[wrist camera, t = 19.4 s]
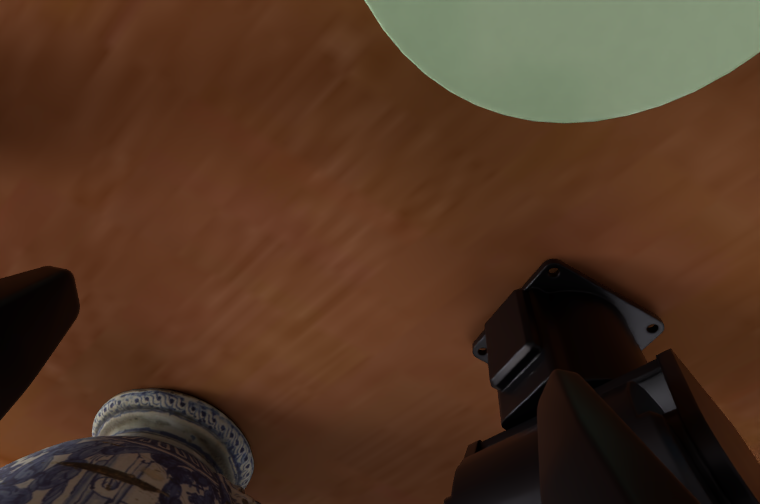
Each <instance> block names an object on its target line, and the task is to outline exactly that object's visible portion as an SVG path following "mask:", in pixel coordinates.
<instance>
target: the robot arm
mask: <svg viewBox="0 0 760 504" xmlns="http://www.w3.org/2000/svg"><path fill="white" fill-rule="evenodd" d="M551 268H558V270H557V271H556V272H555V273H550V272H548V271H549V270H550V269H551ZM79 310H80V304H79V299H78V294H77V289H76V284H75V279H74V276H73V274H72V273H71V271H69V270H67V269H62V268H57V267H52V266H45V267H41V268H37V269H34V270H30V271H26V272H23V273H19V274H16V275H12V276H9V277H5V278H1V279H0V420H1V419H2V418H3V417H4V415H5V414H6V413H7V412H8V411H9V410H10V408H11V407H12V406H13V405H14V404H15V402H16V401H17V400H18V399H19V398H20V397H21V395H22V394H23V393H24V392H25V390H26V389H27V388H28V387H29V385H30V384H31V383H32V381H33V380H34V379H35V377H36V376H37V375H38V373H39V372H40V370H41V369H42V367H43V366H44V365H45V363H46V362H47V360H48V359H49V357H50V356H51V354H52V353H53V352H54V350H55V349H56V347H57V346H58V344H59V343H60V341H61V340H62V339H63V337H64V336H65V334H66V333H67V331H68V330H69V329H70V327H71V326H72V324H73V323H74V321H75V320H76V318H77V316H78V314H79ZM651 324H655V325H654V326H653V327H650V328H647V327H648V326H649V325H651ZM663 331H664V324H663V322H662V321H661V319H660V318H659V317H658V316H656V315H655V314H653V313H651V312H649V311H648V310H646V309H644V308H642V307H641V306H639V305H637V304H635V303H634V302H632V301H630V300H628V299H627V298H625V297H623V296H621V295H620V294H618V293H616V292H614V291H613V290H611V289H609V288H607V287H606V286H604V285H602V284H600V283H599V282H597V281H595V280H594V279H592V278H590V277H588V276H587V275H585V274H583V273H581V272H580V271H578V270H576V269H574V268H573V267H571V266H569V265H567V264H566V263H564V262H562V261H560V260H558V259H549V260H546V261H545V262H544V263H543V264H542V265H541V266H540V267H539V268H538V270H537V271H536V272H535V273H534V274H533V275H532V276H531V278H530V279H529V280H528V281H527V282H526V283H525V284H524V286H523V287H522V288H520V289H517V290H514V291H513V292H512V294H511V295H510V296H509V297H508V298H507V299H506V301H505V302H504V303H503V304H502V305H501V306H500V307H499V309H498V310H497V311H496V312H495V313H494V314H493V316H492V317H491V318H490V319H489V320H488V321H487V322H486V324H485V330H484V331H483V332H482V333H481V335H480V336H479V337H478V338H477V339H476V340H475V341H474V343H473V354H474V356H475V357H477V358H478V359H480V360H482V361H484V362H486V363H488V366H489V377H490V383H491V386H492V387H493V388H495V389H497V390H498V398H499V407H500V416H501V425H502V427H503V428H504V429H505V430H506V431H504V432H502V433H499V434H497V435H495V436H493V437H491V438H489V439H487V440H485V441H483V442H482V441H481V440H478V441H476V442H474V443H472V444H470V445H469V446H468V448H467V451H466V454H465V457H464V459H463V461H462V462H461V463H460V465H459V466H458V468H457V469H456V471H455V476H454V482H453V487H452V496H450V497H447V498H446V499H445V500H444V504H760V464H759V463H758V461H757V460H756V458H755V457H754V455H753V454H752V452H751V451H750V449H749V448H748V446H747V445H746V444H745V442H744V441H743V439H742V438H741V436H740V435H739V433H738V432H737V430H736V429H735V427H734V426H733V425H732V423H731V422H730V421H729V420H728V418H727V417H726V416H725V415H724V414H723V412H722V411H721V410H720V409H719V407H718V406H717V405H716V404H715V402H714V401H713V400H712V399H711V398H710V396H709V395H708V394H707V393H706V391H705V390H704V389H703V388H702V386H701V385H700V384H699V383H698V381H697V380H696V379H695V378H694V377H693V375H692V374H691V373H690V372H689V370H688V369H687V368H686V367H685V365H684V364H683V363H682V362H681V361H680V359H679V358H678V357H677V356H676V354H675V353H674V352H673V351H672V349H669V350H667V351H664V352H662V353H660V354H658V355H656V358H657V359H655V360H653V361H651V362H649V363H647V361H646V359H645V357H644V355H643V353H642V350H643V349H644V348H645V347H646V346H647V345H649V344H650V343H651V342H652V341H653V340H654V339H655V338H657V337H658V336H659V335H660V334H661V333H662V332H663ZM480 348H486V349H485V350H479V349H480Z"/></svg>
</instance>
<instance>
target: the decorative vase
mask: <svg viewBox="0 0 760 504" xmlns="http://www.w3.org/2000/svg"><path fill="white" fill-rule="evenodd" d="M253 470H254V460H253V456H252V452H251V449H250V446H249V443H248V441H247V440H246V438H245V436H244V435H243V433H242V432H241V431H240V430H239V428H237V427H236V425H235V424H234V422H233V421H232V420H231V419H230V418H228V417H227V416H226V415H224V414H223V413H222V412H220V411H219V410H218V409H216V408H215V407H213V406H211V405H210V404H208V403H206V402H204V401H201V400H199V399H197V398H195V397H193V396H189V395H186V394H184V393H180V392H176V391H172V390H167V389H157V388H150V389H133V390H130V391H126V392H123V393H120V394H118V395H116V396H114V397H112V398H111V399H110V400H109V401H108V402H106V403H105V404H104V405H103V406H102V407H101V409H100V410H99V411H98V413H97V415H96V417H95V419H94V423H93V429H92V437H88V438H82V439H77V440H72V441H68V442H64V443H61V444H57V445H54V446H51V447H48V448H46V449H43V450H40V451H38V452H35V453H33V454H30V455H28V456H26V457H23V458H21V459H19V460H16V461H14V462H12V463H10V464H8V465H6V466H4V467H2V468H0V504H261V503H259V502H257V501H255V500H254V499H253V498H252V497H250V496H248V495H246V494H245V491H244V489H245V487H246V486H247V484H248V483H249V481H250V479H251V476H252V474H253Z"/></svg>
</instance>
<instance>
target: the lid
mask: <svg viewBox="0 0 760 504" xmlns="http://www.w3.org/2000/svg"><path fill="white" fill-rule="evenodd" d="M364 1H365V2H366V4H367V5H368V7H369V9H370V10H371V12H372V13H373V15H374V16H375V18H376V20H377V21H378V23H379V24H380V26H381V28H382V29H383V30H384V31H385V33H386V34H387V35H388V36H389V37H390V39H391V40H392V41H393V42H394V44H395V45H396V46H397V47H398V48H399V50H400V51H401V52H402V53H403V54H404V55H405V56H406V57H407V58H408V59H409V60H410V61H411V62H412V63H413V64H415V65H416V66H417V67H418V68H419V69H420V70H421V71H422V72H423V73H424V74H425V75H427V76H428V77H429V78H431V79H432V80H434V81H435V82H437V83H438V84H439V85H441V86H442V87H444V88H445V89H446V90H448V91H449V92H451V93H453V94H455V95H457V96H459V97H461V98H463V99H465V100H467V101H468V102H470V103H472V104H474V105H476V106H479V107H482V108H485V109H488V110H490V111H493V112H496V113H499V114H502V115H505V116H510V117H515V118H520V119H525V120H529V121H537V122H550V123H580V122H596V121H602V120H607V119H613V118H619V117H624V116H629V115H632V114H636V113H639V112H642V111H646V110H649V109H652V108H656V107H659V106H662V105H664V104H667V103H669V102H672V101H674V100H676V99H679V98H681V97H684V96H686V95H688V94H691V93H693V92H695V91H697V90H699V89H701V88H703V87H704V86H706V85H708V84H710V83H712V82H714V81H715V80H717V79H719V78H721V77H723V76H725V75H726V74H728V73H730V72H731V71H733V70H734V69H736V68H737V67H739V66H740V65H742V64H743V63H745V62H746V61H748V60H749V59H751V58H752V57H754V56H755V55H756V54H758V53H759V52H760V0H364Z"/></svg>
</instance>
